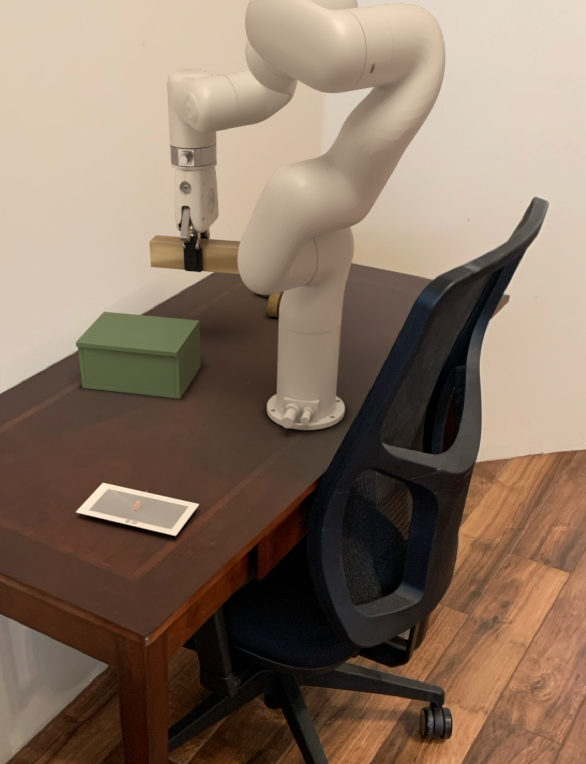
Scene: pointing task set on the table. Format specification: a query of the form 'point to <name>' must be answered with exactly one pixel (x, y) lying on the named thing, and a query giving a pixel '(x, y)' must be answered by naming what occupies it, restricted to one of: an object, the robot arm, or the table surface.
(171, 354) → the box lid
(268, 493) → the table surface
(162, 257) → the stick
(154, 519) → the touchpad
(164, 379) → the box
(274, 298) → the gavel
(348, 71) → the robot arm
